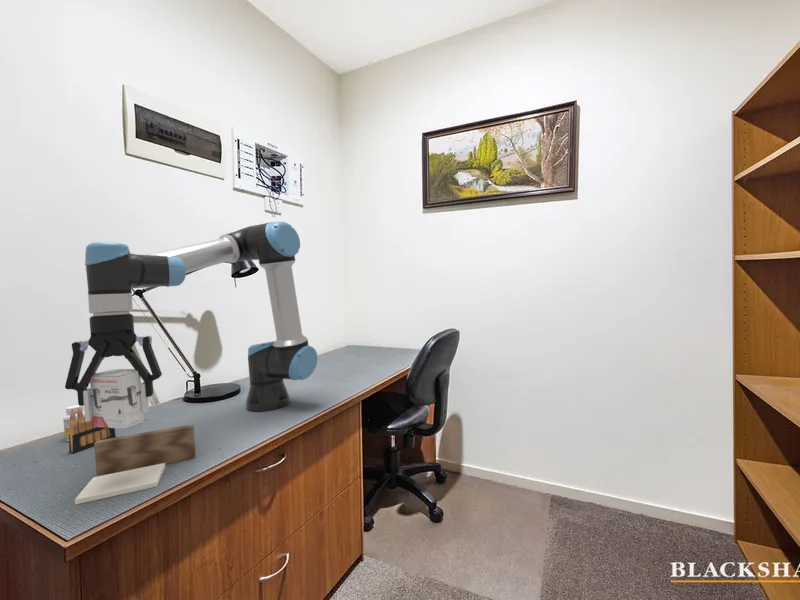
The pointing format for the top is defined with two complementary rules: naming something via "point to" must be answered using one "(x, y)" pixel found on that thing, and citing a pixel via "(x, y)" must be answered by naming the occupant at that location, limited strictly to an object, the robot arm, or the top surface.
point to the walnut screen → (144, 449)
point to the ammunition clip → (85, 433)
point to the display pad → (121, 483)
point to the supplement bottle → (67, 419)
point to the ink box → (116, 398)
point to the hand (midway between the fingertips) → (118, 415)
